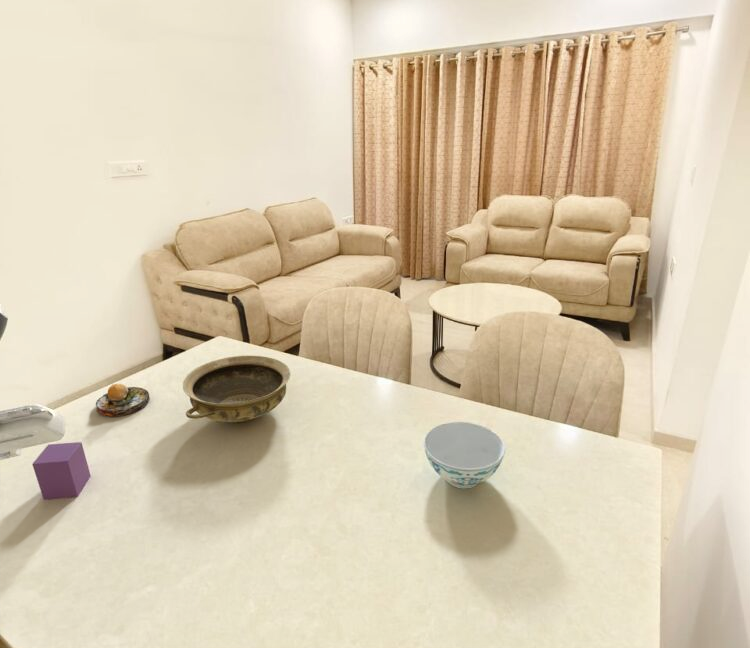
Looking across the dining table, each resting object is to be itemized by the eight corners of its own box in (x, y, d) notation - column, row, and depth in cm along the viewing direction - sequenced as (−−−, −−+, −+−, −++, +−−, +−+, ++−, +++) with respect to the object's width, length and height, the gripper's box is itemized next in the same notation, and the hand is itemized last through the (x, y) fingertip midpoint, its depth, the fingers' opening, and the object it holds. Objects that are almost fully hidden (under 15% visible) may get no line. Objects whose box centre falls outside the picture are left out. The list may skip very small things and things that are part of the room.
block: (77, 496, 93) (67, 461, 90) (43, 499, 92) (32, 464, 89) (90, 476, 98) (81, 441, 95) (58, 478, 98) (48, 444, 95)
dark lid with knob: (159, 397, 127) (154, 370, 124) (123, 421, 117) (117, 393, 114) (123, 389, 131) (117, 364, 128) (85, 412, 121) (77, 385, 118)
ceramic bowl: (233, 463, 101) (227, 421, 98) (155, 431, 113) (147, 392, 109) (320, 398, 126) (318, 362, 122) (249, 376, 137) (245, 343, 133)
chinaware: (411, 490, 93) (412, 456, 90) (437, 446, 106) (438, 415, 103) (491, 514, 87) (495, 477, 84) (508, 464, 100) (512, 431, 97)
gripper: (42, 386, 71) (82, 418, 82) (-129, 420, 66) (-61, 450, 78) (41, 428, 68) (82, 455, 80) (-138, 467, 63) (-66, 490, 75)
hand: (10, 453), depth 79 cm, fingers closed
